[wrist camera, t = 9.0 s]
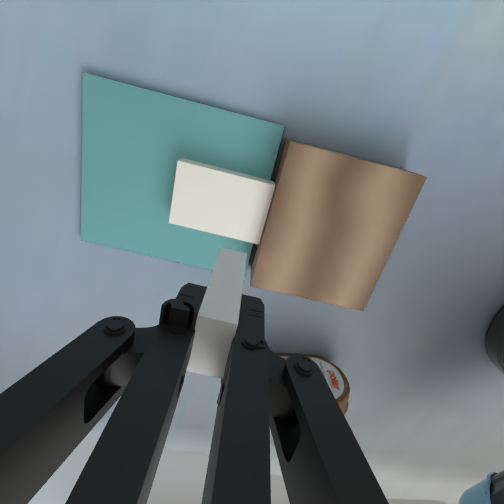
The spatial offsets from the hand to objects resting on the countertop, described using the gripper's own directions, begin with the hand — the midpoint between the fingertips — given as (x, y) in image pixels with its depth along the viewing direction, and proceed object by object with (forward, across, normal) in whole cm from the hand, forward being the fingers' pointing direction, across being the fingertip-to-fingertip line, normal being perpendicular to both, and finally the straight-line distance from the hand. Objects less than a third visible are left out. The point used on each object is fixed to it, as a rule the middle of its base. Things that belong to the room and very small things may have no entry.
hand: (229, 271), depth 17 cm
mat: (+15, +7, 0) cm, 16 cm away
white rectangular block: (+14, +2, 0) cm, 14 cm away
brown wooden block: (+15, -8, 0) cm, 17 cm away
